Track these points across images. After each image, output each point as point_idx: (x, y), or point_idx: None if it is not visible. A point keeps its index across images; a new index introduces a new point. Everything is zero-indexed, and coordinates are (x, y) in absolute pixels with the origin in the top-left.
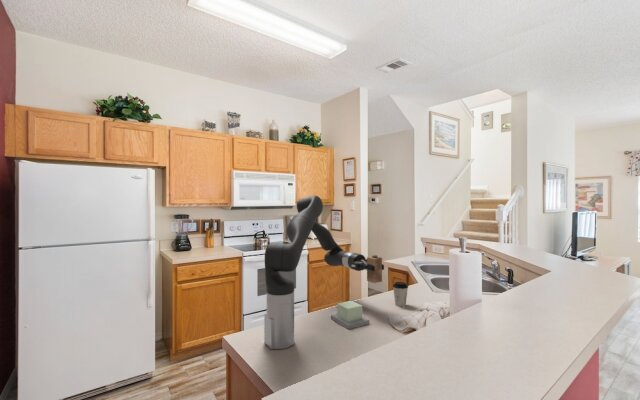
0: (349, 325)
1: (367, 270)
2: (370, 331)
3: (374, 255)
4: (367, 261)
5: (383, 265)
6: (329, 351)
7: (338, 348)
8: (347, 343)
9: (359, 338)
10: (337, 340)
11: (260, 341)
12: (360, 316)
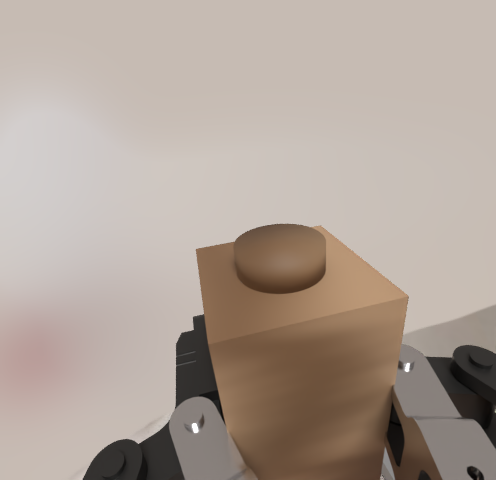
0: None
1: (378, 442)
2: None
3: (278, 242)
4: (391, 350)
5: (201, 316)
6: (492, 309)
7: (470, 316)
8: (448, 331)
9: (412, 347)
10: (486, 348)
11: None
12: None
